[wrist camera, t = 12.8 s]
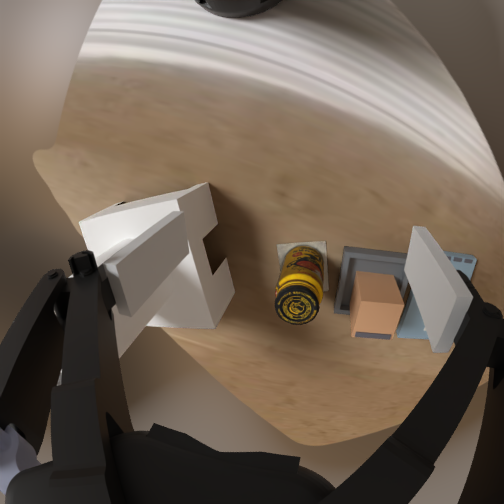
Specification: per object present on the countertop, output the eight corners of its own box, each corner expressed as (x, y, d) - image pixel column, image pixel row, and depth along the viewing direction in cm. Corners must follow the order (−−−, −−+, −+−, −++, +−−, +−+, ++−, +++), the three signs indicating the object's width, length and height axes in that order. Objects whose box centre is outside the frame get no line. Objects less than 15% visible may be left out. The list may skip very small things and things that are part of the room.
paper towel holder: (208, 182, 41) (43, 283, 15) (235, 292, 48) (151, 446, 22) (116, 203, 47) (-23, 283, 20) (147, 294, 54) (49, 402, 27)
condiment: (325, 240, 41) (324, 282, 30) (328, 290, 44) (327, 341, 33) (276, 243, 43) (259, 285, 32) (283, 292, 46) (269, 341, 35)
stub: (356, 270, 41) (361, 301, 33) (393, 275, 39) (404, 305, 32) (349, 303, 43) (351, 337, 36) (384, 307, 42) (392, 340, 35)
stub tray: (344, 246, 40) (345, 251, 38) (410, 254, 38) (414, 259, 36) (333, 305, 45) (333, 313, 43) (394, 311, 42) (396, 319, 41)
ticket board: (422, 248, 37) (425, 253, 35) (472, 255, 35) (477, 260, 33) (396, 331, 44) (397, 338, 42) (442, 334, 42) (445, 340, 40)
